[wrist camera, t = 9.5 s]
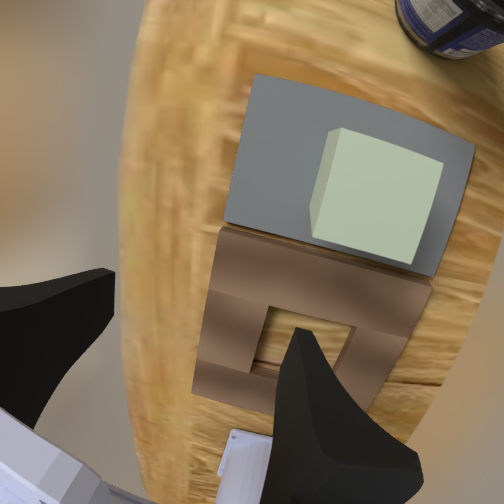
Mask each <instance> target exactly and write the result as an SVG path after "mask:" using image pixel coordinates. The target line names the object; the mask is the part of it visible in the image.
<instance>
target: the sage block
mask: <svg viewBox="0 0 504 504" xmlns="http://www.w3.org/2000/svg"><path fill="white" fill-rule="evenodd" d="M443 165H444V163H441V162H439V161H436V160H434V159H431V158H429V157H426V156H424V155H421V154H419V153H416V152H413V151H411V150H408V149H405V148H402V147H400V146H397V145H394V144H391V143H388V142H385V141H382V140H379V139H376V138H373V137H370V136H367V135H364V134H361V133H358V132H354V131H351V130H348V129H344V128H339V129H335V130H332V131H329V132H328V136H327V140H326V144H325V148H324V152H323V156H322V160H321V164H320V168H319V172H318V175H317V179H316V183H315V187H314V191H313V194H312V198H311V202H310V206H309V210H310V219H311V229H312V237H314V238H318V239H322V240H325V241H329V242H333V243H336V244H340V245H344V246H347V247H351V248H355V249H358V250H362V251H365V252H369V253H373V254H376V255H380V256H383V257H387V258H390V259H394V260H397V261H401V262H404V263H408V264H411V263H412V261H413V258H414V256H415V253H416V250H417V247H418V245H419V242H420V239H421V236H422V233H423V231H424V228H425V225H426V222H427V219H428V216H429V213H430V209H431V206H432V203H433V200H434V197H435V193H436V190H437V186H438V183H439V179H440V176H441V172H442V168H443Z"/></svg>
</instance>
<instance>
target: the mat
mask: <svg viewBox="0 0 504 504" xmlns="http://www.w3.org/2000/svg"><path fill="white" fill-rule="evenodd" d="M339 128H344V129H348V130H351V131H354V132H358V133H361V134H364V135H367V136H370V137H373V138H376V139H379V140H382V141H385V142H388V143H391V144H394V145H397V146H400V147H402V148H405V149H408V150H411V151H413V152H416V153H419V154H421V155H424V156H426V157H429V158H431V159H434V160H436V161H439V162H441V163H444V165H443V168H442V172H441V176H440V179H439V183H438V186H437V190H436V193H435V197H434V200H433V203H432V206H431V209H430V213H429V216H428V219H427V222H426V225H425V228H424V231H423V233H422V236H421V239H420V242H419V245H418V247H417V250H416V253H415V256H414V258H413V261H412V263H411V264H408V263H404V262H401V261H397V260H394V259H390V258H387V257H383V256H380V255H376V254H373V253H369V252H365V251H362V250H358V249H355V248H351V247H347V246H344V245H340V244H336V243H333V242H329V241H325V240H322V239H318V238H314V237H312V229H311V219H310V210H309V206H310V202H311V198H312V194H313V191H314V187H315V183H316V179H317V175H318V172H319V168H320V164H321V160H322V156H323V152H324V148H325V144H326V140H327V136H328V132H329V131H332V130H335V129H339ZM475 147H476V145H474V144H472V143H470V142H468V141H466V140H463V139H461V138H459V137H457V136H455V135H453V134H451V133H448V132H446V131H444V130H442V129H439V128H437V127H435V126H432V125H430V124H427V123H425V122H422V121H420V120H417V119H415V118H412V117H410V116H407V115H405V114H402V113H399V112H396V111H394V110H391V109H388V108H385V107H382V106H379V105H377V104H374V103H371V102H367V101H364V100H361V99H358V98H355V97H351V96H348V95H345V94H341V93H338V92H334V91H331V90H327V89H323V88H319V87H315V86H311V85H307V84H303V83H299V82H295V81H290V80H286V79H281V78H276V77H271V76H266V75H261V74H255V76H254V80H253V85H252V89H251V93H250V97H249V102H248V106H247V110H246V115H245V119H244V124H243V128H242V132H241V137H240V141H239V146H238V151H237V155H236V160H235V164H234V169H233V174H232V179H231V183H230V188H229V193H228V198H227V203H226V208H225V213H224V218H223V221H226V222H230V223H234V224H238V225H242V226H246V227H250V228H254V229H258V230H262V231H265V232H269V233H273V234H277V235H281V236H285V237H289V238H292V239H296V240H300V241H304V242H307V243H311V244H315V245H319V246H322V247H326V248H330V249H334V250H337V251H341V252H345V253H348V254H352V255H356V256H359V257H363V258H366V259H370V260H374V261H377V262H381V263H384V264H388V265H392V266H395V267H399V268H402V269H406V270H409V271H413V272H416V273H420V274H423V275H427V276H430V277H434V274H435V272H436V269H437V267H438V264H439V262H440V259H441V257H442V254H443V252H444V249H445V246H446V244H447V241H448V238H449V235H450V233H451V230H452V227H453V224H454V221H455V218H456V215H457V212H458V209H459V206H460V202H461V199H462V196H463V192H464V189H465V186H466V182H467V178H468V175H469V171H470V167H471V163H472V159H473V155H474V151H475Z"/></svg>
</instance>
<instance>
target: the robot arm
mask: <svg viewBox="0 0 504 504" xmlns="http://www.w3.org/2000/svg"><path fill="white" fill-rule="evenodd" d="M114 292H115V272H114V271H111V270H108V269H105V268H98V269H93V270H89V271H85V272H80V273H77V274H73V275H69V276H65V277H62V278H57V279H53V280H49V281H44V282H40V283H35V284H29V285H21V286H13V287H0V504H157V503H155V502H152V501H149V500H147V499H144V498H141V497H139V496H136V495H134V494H132V493H129V492H127V491H124V490H122V489H120V488H118V487H115V486H113V485H111V484H109V483H107V482H105V481H103V480H102V478H101V477H100V475H98V474H97V473H96V472H95V471H94V470H93V469H91V468H90V467H89V466H88V465H87V464H86V463H84V462H83V461H82V460H80V459H79V458H77V457H75V456H74V455H72V454H71V453H69V452H68V451H66V450H65V449H63V448H62V447H60V446H58V445H57V444H55V443H53V442H52V441H50V440H48V439H47V438H45V437H43V436H42V435H40V434H38V433H37V432H36V431H34V430H33V429H34V427H35V425H36V423H37V421H38V418H39V417H40V415H41V413H42V411H43V409H44V407H45V406H46V404H47V402H48V400H49V399H50V397H51V395H52V394H53V392H54V390H55V389H56V387H57V386H58V384H59V383H60V381H61V380H62V378H63V377H64V375H65V374H66V373H67V371H68V370H69V369H70V368H71V366H72V365H73V364H74V363H75V362H76V361H77V360H78V359H79V358H80V356H81V355H82V354H83V353H84V352H85V351H86V350H87V349H88V348H89V347H90V345H91V344H92V343H93V342H94V341H95V340H96V339H97V338H98V337H99V335H100V334H101V333H102V332H103V331H104V329H105V328H106V326H107V325H108V323H109V321H110V320H111V319H112V317H113V316H114V294H115V293H114ZM217 474H218V475H219V476H222V478H221V481H220V485H219V489H218V492H217V496H216V500H215V503H214V504H404V503H405V502H407V501H408V500H409V499H410V498H411V497H413V496H414V495H415V494H416V493H417V492H418V491H419V490H420V488H421V487H422V485H423V483H424V480H423V473H422V468H421V464H420V460H419V457H418V454H417V453H416V452H415V451H413V450H412V449H410V448H409V447H407V446H406V445H404V444H402V443H401V442H399V441H398V440H396V439H395V438H394V437H392V436H391V435H390V434H389V433H387V432H386V431H385V430H384V429H382V428H381V427H380V426H379V425H378V424H377V423H375V422H374V421H373V420H372V419H371V418H370V417H369V416H368V415H367V414H366V413H365V412H364V411H363V410H362V409H361V408H360V407H359V405H358V404H357V403H356V402H355V401H354V400H353V398H352V397H351V396H350V395H349V393H348V392H347V391H346V390H345V388H344V387H343V386H342V384H341V383H340V381H339V380H338V378H337V377H336V375H335V374H334V372H333V370H332V369H331V367H330V365H329V363H328V362H327V360H326V358H325V356H324V354H323V352H322V350H321V348H320V346H319V344H318V342H317V340H316V338H315V336H314V334H313V332H312V331H310V330H306V329H302V328H298V327H296V328H295V331H294V333H293V336H292V339H291V341H290V344H289V347H288V349H287V352H286V354H285V357H284V360H283V362H282V365H281V367H280V372H279V377H278V382H277V387H276V396H275V411H274V427H273V437H269V436H265V435H260V434H256V433H252V432H247V431H243V430H239V429H232V430H231V432H230V435H229V438H228V441H227V444H226V448H225V451H224V454H223V457H222V460H221V463H220V466H219V469H218V472H217Z"/></svg>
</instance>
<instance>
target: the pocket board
mask: <svg viewBox="0 0 504 504" xmlns="http://www.w3.org/2000/svg"><path fill="white" fill-rule="evenodd" d="M432 288H433V287H432V286H431V284H430V283H429V282H428V281H426V280H422V279H419V278H415V277H412V276H408V275H405V274H401V273H397V272H394V271H390V270H387V269H383V268H379V267H376V266H372V265H368V264H365V263H361V262H357V261H354V260H350V259H346V258H343V257H339V256H335V255H332V254H328V253H324V252H320V251H317V250H313V249H309V248H305V247H301V246H298V245H294V244H290V243H286V242H282V241H279V240H275V239H271V238H267V237H263V236H259V235H255V234H252V233H248V232H244V231H240V230H236V229H232V228H228V227H224V226H223V227H222V228H221V229H220V230H219V235H218V240H217V245H216V251H215V256H214V261H213V267H212V272H211V278H210V283H209V289H208V294H207V300H206V305H205V311H204V317H203V323H202V329H201V335H200V341H199V347H198V353H197V359H196V365H195V372H194V378H193V385H192V391H191V393H192V394H195V395H199V396H202V397H205V398H209V399H212V400H215V401H219V402H222V403H226V404H230V405H233V406H237V407H241V408H245V409H249V410H253V411H257V412H261V413H266V414H270V415H274V411H275V396H276V387H277V382H278V377H279V372H278V371H274V370H270V369H266V368H262V367H258V366H254V365H252V362H253V358H254V355H255V352H256V348H257V345H258V342H259V338H260V335H261V331H262V328H263V324H264V321H265V318H266V314H267V311H268V307H269V306H273V307H277V308H281V309H285V310H289V311H293V312H296V313H301V314H305V315H309V316H313V317H317V318H321V319H325V320H329V321H333V322H338V323H342V324H346V325H351V326H352V328H351V330H350V333H349V335H348V337H347V339H346V342H345V344H344V346H343V348H342V350H341V353H340V355H339V357H338V359H337V361H336V363H335V365H334V368H333V372H334V374H335V375H336V377H337V378H338V380H339V381H340V383H341V384H342V386H343V387H344V388H345V390H346V391H347V392H348V393H349V395H350V396H351V397H352V398H353V400H354V401H355V402H356V403H357V404H358V405H359V407H360V408H361V409H362V410H363V411H364V412H366V410H367V409H368V407H369V406H370V404H371V403H372V401H373V399H374V398H375V396H376V395H377V393H378V391H379V390H380V388H381V387H382V385H383V383H384V382H385V380H386V378H387V376H388V375H389V373H390V371H391V370H392V368H393V366H394V364H395V362H396V361H397V359H398V357H399V355H400V353H401V352H402V350H403V348H404V346H405V344H406V342H407V340H408V338H409V336H410V335H411V333H412V331H413V329H414V327H415V325H416V323H417V321H418V319H419V316H420V314H421V312H422V310H423V308H424V306H425V304H426V302H427V299H428V297H429V295H430V293H431V290H432Z"/></svg>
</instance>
